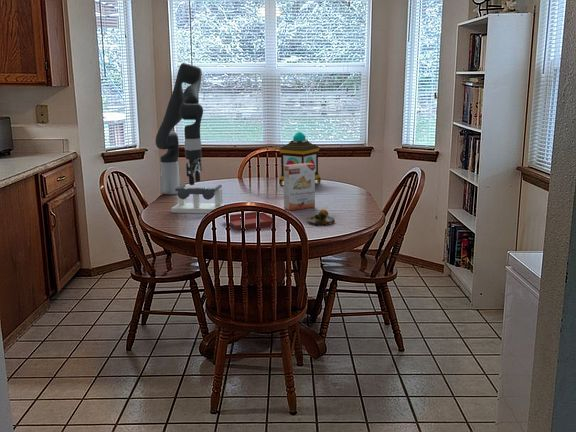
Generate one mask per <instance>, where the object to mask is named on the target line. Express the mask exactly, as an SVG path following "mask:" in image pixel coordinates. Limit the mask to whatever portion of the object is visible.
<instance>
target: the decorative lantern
mask: <svg viewBox="0 0 576 432" xmlns="http://www.w3.org/2000/svg"><path fill="white" fill-rule="evenodd" d="M278 150H279V153H280V164H281V165H280V169H281V174H280V177H279V180H278V184H279V185H280V186H283V182H284V165H291V164H302V163H312V164H315V181H317V182H316V183H317V184H320V183H321V176H320V173H319V151H320V147H319V146H318V145H317V144H314V143H312V142H311V141H309V139H307V138H306V135H305V134H304V133H303V132H301V131H297V132H296V133H295V134H294V135H293V136H292V140H290V141H289V142H288V143H287V144H285V145H282V146H280V148H279V149H278Z"/></svg>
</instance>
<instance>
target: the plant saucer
mask: <svg viewBox="0 0 576 432" xmlns="http://www.w3.org/2000/svg"><path fill="white" fill-rule="evenodd" d="M256 212H257V211H251V212H244V213H245V228H246V229H245V230H251V229H257V228H256ZM241 214H242V213H236V214H229V215H230V224H229V225H230V226H232V227H233V228H234V229H236V230H238V231H242V230H241V218H240V217H241ZM225 216H226V215H222V218H223V219H224V220H225ZM272 218H273V217H272V216H271V215H268V213H265V212H263V213H260V228H267V227H271V226H272V225H273V224H272Z"/></svg>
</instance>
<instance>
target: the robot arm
mask: <svg viewBox="0 0 576 432" xmlns="http://www.w3.org/2000/svg"><path fill="white" fill-rule="evenodd" d="M202 71H203V70H202V68H201V67H200V66H197V65H193V64H191V63H186V62H182V63H181V64H180V65H179V67H178V71H177V75H176V78H175V82H174V86H173V88H172V89H173V90H172V93H171V96H170V98H169V101H168V104H167V107H166V109H165V113H164V114H165V115H164V117H163V120H162V121H161V123H160V126H159V129H158V131H157V133H156V136H155V146H156V147H157V149H159V150H167V151H166V152H165V153H164V154H163V155H161V156H160V159H159V160H160V168H161V169H160V173H161V175H160V178H159V179H160V180H159V181H160V191H161V192H160V193H161V194H162V195H178V191H175V188H177V187H179V186H181V185H180V172H179V154H180V152H179V147H180V146H179V142H180V141H179V137H178V134H177V132H176V131H174V130H173V128H174V127H176V126H177V125H178V124H179V123H180V122H181V121H182V120H185V121H188V120H189V121H190V120H195V121H194V123H192V124H187V125H185V126H184V129H183V130H184V131H183V132H184V158H185V160H188V162H186V164H185V165H186V166H185V168H186V177H188V184H189V186H194V185H195V182H197V183H198V182H201V174H202V173H201V172H202V171H203V170H202V169H203V167H202V160H201V159H202V158H203V153H202V152H203V151H202V140H201V123H202V118H203V114H204V108H203V106H202V104H200V101H199V100H200V98H199V96H200V95H199V94H200V87H201V84H202V83H201V82H202V76H203V75H202V74H203V73H202ZM183 83H184V84H188V86H187V87H186V88H185V89H184V91H183Z"/></svg>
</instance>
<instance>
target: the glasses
mask: <svg viewBox="0 0 576 432" xmlns="http://www.w3.org/2000/svg"><path fill="white" fill-rule="evenodd" d="M184 187H186V184H185V183H182V184H181V185H180V186H179V187H177V188H175V191H178V194H177V196H178V197H179V198H180V199H186V200H187V198H189V197H190V195H193V194H199V195H202V197H203V199H204V200H212V199H213V198H215V191H217V190H218V189H220V188H222V184H218V185H216V186H215V187H207V188H206V187H186V188H184ZM178 197H177V198H178Z"/></svg>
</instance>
